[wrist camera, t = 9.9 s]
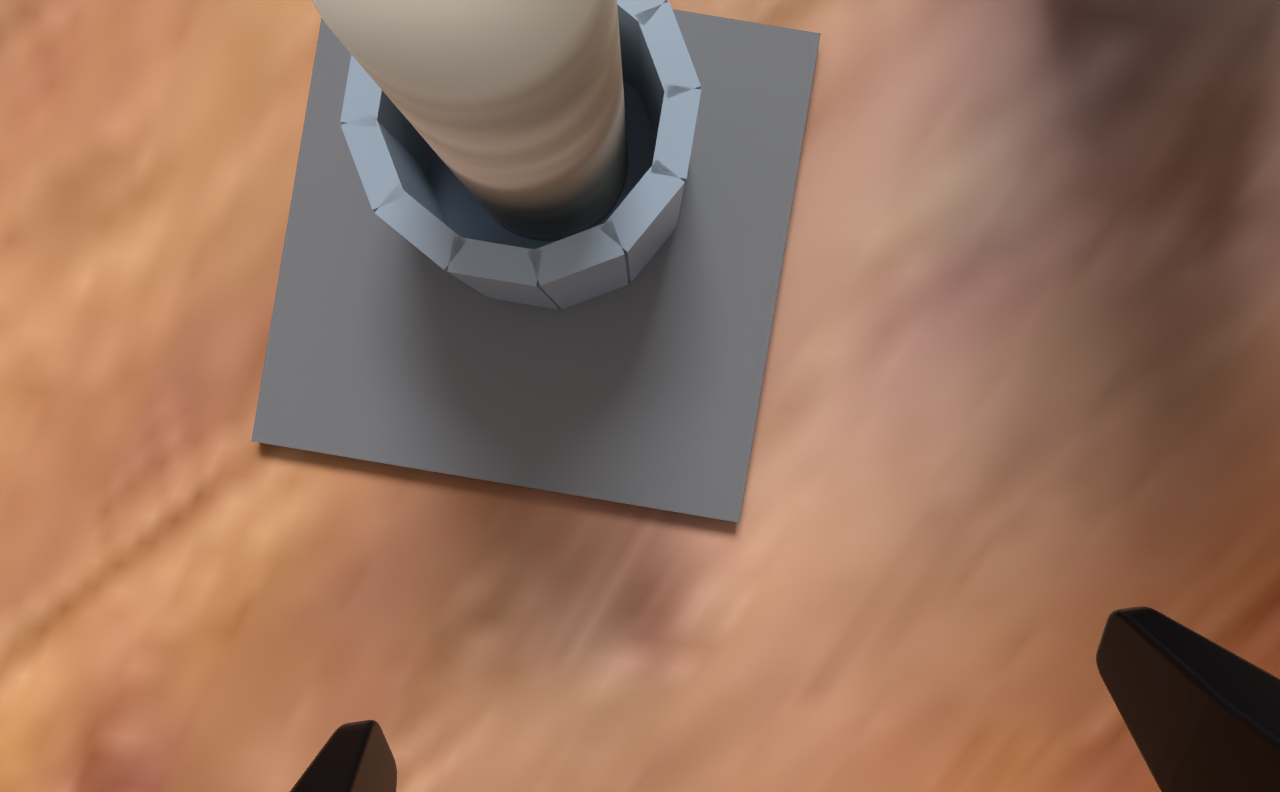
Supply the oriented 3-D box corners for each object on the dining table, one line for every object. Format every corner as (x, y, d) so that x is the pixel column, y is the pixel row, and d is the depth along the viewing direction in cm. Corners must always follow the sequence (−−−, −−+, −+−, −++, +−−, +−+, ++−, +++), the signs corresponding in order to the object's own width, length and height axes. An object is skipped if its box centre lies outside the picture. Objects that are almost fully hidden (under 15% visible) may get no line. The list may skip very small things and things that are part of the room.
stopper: (572, 272, 20) (501, 148, 10) (438, 185, 20) (236, -21, 10) (658, 136, 20) (671, -118, 10) (524, 50, 20) (406, -288, 10)
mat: (737, 520, 21) (739, 522, 21) (258, 440, 21) (251, 441, 21) (817, 40, 21) (820, 33, 21) (338, -38, 21) (332, -47, 21)
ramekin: (660, 326, 21) (665, 307, 16) (388, 281, 21) (318, 250, 16) (705, 54, 21) (723, -40, 16) (433, 9, 21) (376, -96, 16)
